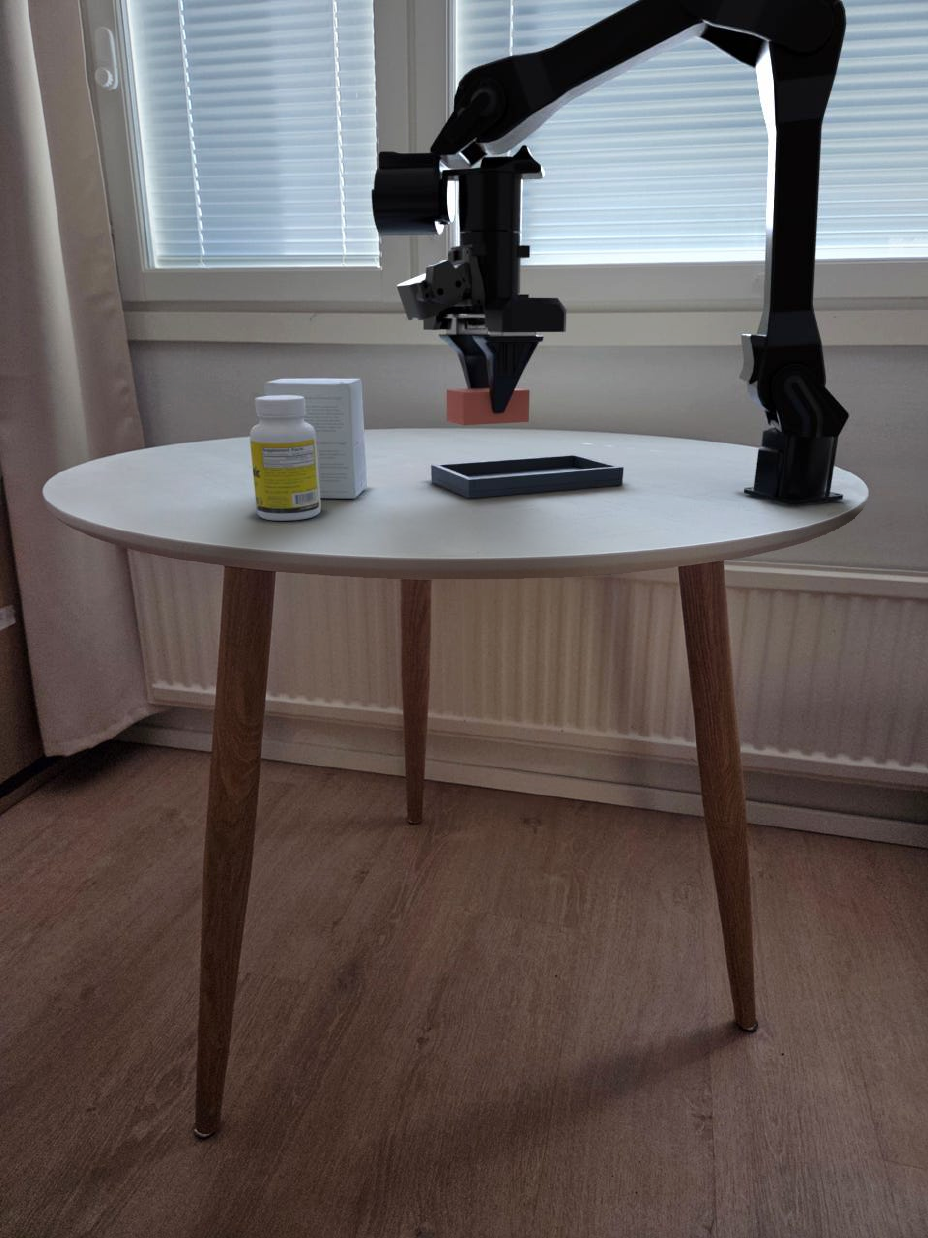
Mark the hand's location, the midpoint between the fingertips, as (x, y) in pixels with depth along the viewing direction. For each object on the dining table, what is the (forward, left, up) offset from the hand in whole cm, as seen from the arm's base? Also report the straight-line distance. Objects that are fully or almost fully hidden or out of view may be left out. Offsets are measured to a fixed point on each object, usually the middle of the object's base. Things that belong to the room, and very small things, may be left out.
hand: (488, 410), depth 81 cm
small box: (+16, -4, -8) cm, 18 cm away
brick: (0, 0, -1) cm, 1 cm away
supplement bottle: (+21, +4, -8) cm, 23 cm away
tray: (-4, 0, -7) cm, 9 cm away
